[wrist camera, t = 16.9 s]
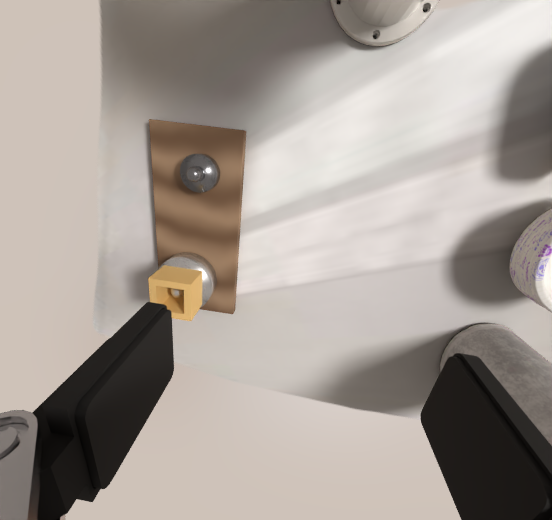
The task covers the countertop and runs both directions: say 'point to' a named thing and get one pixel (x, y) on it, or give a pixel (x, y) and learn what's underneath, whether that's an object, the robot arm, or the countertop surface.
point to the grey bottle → (511, 369)
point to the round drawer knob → (199, 172)
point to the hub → (194, 263)
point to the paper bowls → (534, 261)
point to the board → (199, 201)
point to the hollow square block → (178, 280)
